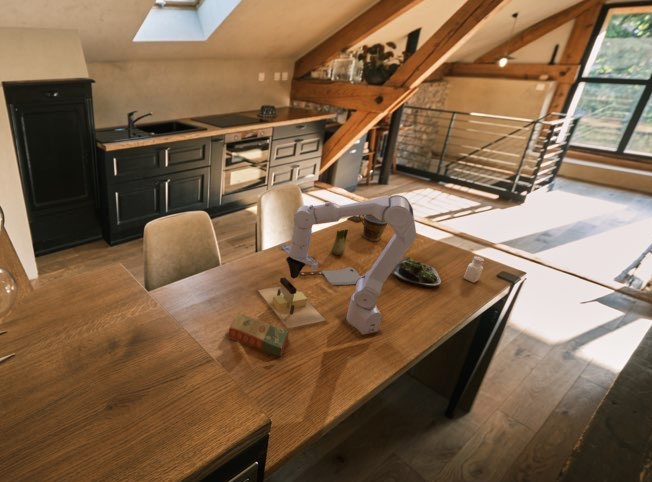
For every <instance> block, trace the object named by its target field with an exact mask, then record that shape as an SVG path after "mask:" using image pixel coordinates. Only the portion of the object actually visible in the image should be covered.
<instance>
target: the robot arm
mask: <svg viewBox="0 0 652 482" xmlns="http://www.w3.org/2000/svg"><path fill="white" fill-rule="evenodd" d="M414 214H415V213H414V209H413V205H412V204H411V203H410V201H409V200H408V198H407V197H405V196H403V195H401V194H394V195H392V196H391V195H390V196H388V195H384V196H380V197H375V198H373V199H372V198H371V199H368V200H361V201H357V202H353V203H348V204H347V203H346V204H341V205H339V204H337V203H336V202H331V201H326V202H324V204H317V205H313V204H309V205H301V206H300V207H298V209H297V210H296V212H295V214H294V215H293V222H294V223H293V229H292V234H291V238H290V239H291V241H290V245H289V244H286V243H284V242H282V243H281V244H279V246H278V247H279V248H278V250H279V251H283V252H285V253H286V254H287V256H288V257H286V258H285V259H286V260H285V261H286V263H287V265H288V269H289V275H290V278H291V279H293V280H294V279H297V278H298V277H299V276H300V275H299V273H300V272H302V270H303V268H305V266H306V265H307V266H308V267H310V269H311V270H312V271H315V270H317V269H318V268H319V262H317V261H316V260H314V258H312V256H311V255H309V248H310V243H311V237H312V232H313V230H312V229H313V225H323V224H329V223H337V222H339V221H340V220H341V218H345V217H356V216H358V217H359V215H360V216H362V215H372V216H374V217H376V218H377V219H379V220H382V217H384V219H385V221H386V222H387V226H389V227H390V228H391V229H392V230H393V233H394V234H393V235H392V237H391V238H390V240H389V241H388V243H387V244H386V246H385V247H384V248H383V250H382V251H381V253H380V254H379V256H378V257H377V258H376V260H375V262H374V263H373V265H372V266H371V267H370V269H369V270H367V271H366V272H365V273H364V274H363V275H360V276H361V277H359V278H358V279H357V281H356V284H355V290H354V292H353V294H351V297H350V301H349V305H348V309H347V313H346V318H345V320H346V321H347V323H348V324H349V325H350V326H351V327H353V328H355V329H356V330H357V331H358V332H359V333H360V334H361V335H362V336H364V335H367V334H372V333H376V332H379V330H380V327H381V323H382V319H383V314H382V313H381V311H379V309H378V307H377V303H378V297H379V295H380V294H381V291H382V288H383V285H384V283H385V282H386V280H387V279H388V277H390V275H391V274H392V273H391V272H392V271H393V269H394V268H395V267H396V265H397V264H398V262H399V261H400V260H401V259H403V258H404V256H405V255H406V253H407V251H408V250H409V249H410V248H411V246H412V245H413V243H414V242H415V240H416V238H417V229H416V221H415V215H414Z"/></svg>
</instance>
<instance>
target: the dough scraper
mask: <svg viewBox="0 0 652 482" xmlns="http://www.w3.org/2000/svg"><path fill="white" fill-rule="evenodd" d="M279 283H280V286H281V289H280V292H281V293H282V294H283V295H284V296H285V297H286V299H287V300H288V301H289V302H290V303H291V304H292V303H293V297H294V294H296V291H297V290H298V289H297V288H296V287H295V286H294V285H293V283H291V282H290V281H289V279H288V278H287V277H286V276H284V277H280V279H279Z"/></svg>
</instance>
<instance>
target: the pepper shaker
mask: <svg viewBox="0 0 652 482" xmlns="http://www.w3.org/2000/svg"><path fill="white" fill-rule="evenodd" d="M484 262H485V258H482V257H481V256H476V255H475V256H473V258H472V261H471V262H470V263H469V264H468V265H467V268H466V270H465V273H464V275H463V279H465V280H466V281H469V282H471V283H473V284H474V283H476V282H478V281H479V280H480V277H481V275H482V272H483V270H484V267H483V264H484Z"/></svg>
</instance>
